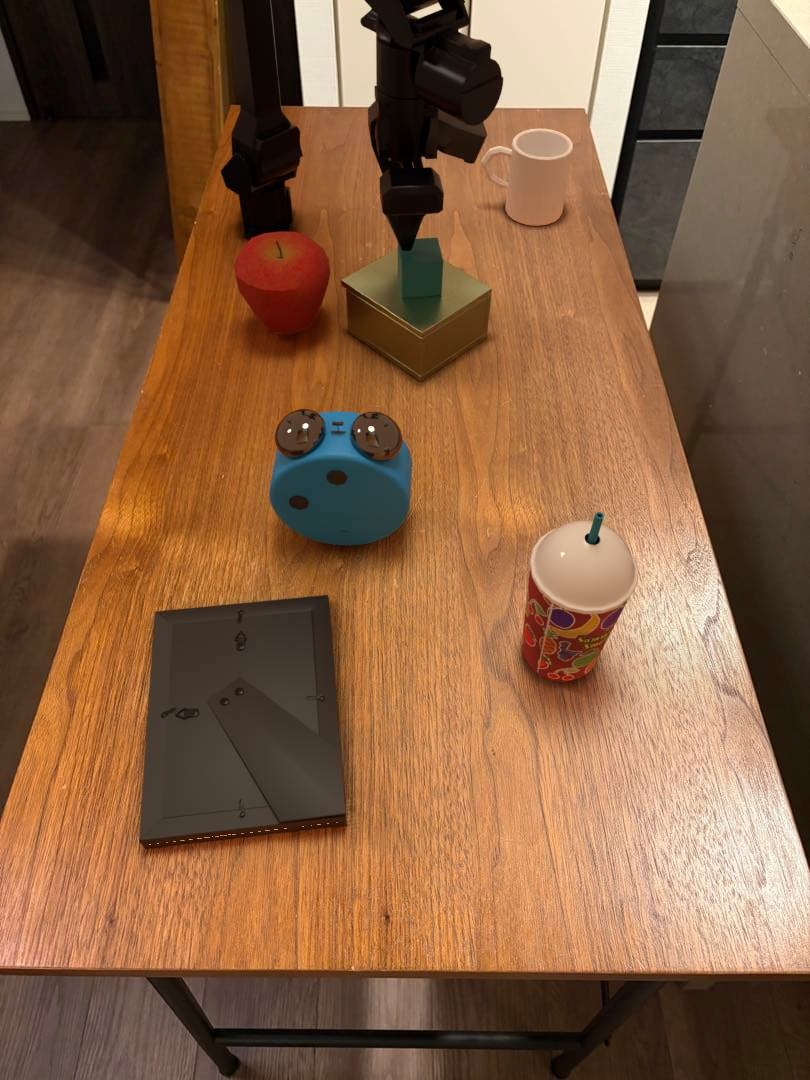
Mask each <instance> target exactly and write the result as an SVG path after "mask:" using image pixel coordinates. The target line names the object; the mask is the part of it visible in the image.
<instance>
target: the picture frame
mask: <svg viewBox="0 0 810 1080" xmlns="http://www.w3.org/2000/svg"><path fill="white" fill-rule="evenodd" d="M153 618H154V620H153V621H154V622H153V632H152V633H153V634H152V647H151V661H150V677H149V689H148V693H149V694H148V705H147V719H146V732H145V733H146V734H145V748H144V763H143V777H142V790H141V791H142V792H141V805H140V806H141V807H140V822H139V836H138V841H139V843H140V844H141V846H142V847H143V849H144V850H151V849H160V848H167V847H177V846H185V845H194V844H201V843H210V842H219V841H227V840H236V839H246V838H254V837H263V836H271V835H277V834H278V835H280V834H286V833H297V832H305V831H312V830H314V831H315V830H322V829H329V828H330V829H331V828H338V827H339V828H340V827H347V826H348V819H347V807H346V805H347V804H346V794H345V781H344V780H345V779H344V770H343V757H342V744H341V732H340V719H339V705H338V694H337V681H336V669H335V656H334V645H333V643H334V642H333V633H332V632H333V630H332V620H331V607H330V597H329V594H323V595H312V596H303V597H292V598H291V597H290V598H281V599H271V600H259V601H250V602H249V601H247V602H239V603H228V604H220V605H208V606H197V607H187V608H176V609H166V610H157V611H154V617H153ZM336 822H338V823H336ZM327 823H329V824H327ZM317 824H321V825H317ZM311 825H312V826H311ZM302 826H304V827H302ZM284 828H287V829H284ZM274 829H278V830H274ZM265 830H270V831H265ZM258 831H261V832H258ZM250 832H253V833H250ZM241 833H244V834H241ZM228 834H231V835H228ZM232 834H236V835H232ZM220 835H227V836H220ZM212 836H213V837H212ZM215 836H219V837H215ZM204 837H210V838H204ZM197 838H202V839H197ZM189 839H193V840H189ZM180 840H185V841H180ZM173 841H176V842H173ZM166 842H168V843H166ZM157 843H159V844H157ZM149 844H151V845H149Z"/></svg>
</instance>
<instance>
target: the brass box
mask: <svg viewBox="0 0 810 1080" xmlns="http://www.w3.org/2000/svg"><path fill="white" fill-rule="evenodd" d="M345 296H346V314H347V332H348V333H349V334H350V335H352V336H353V337H355V338H356V339H357V340H359V341H360V342H362V343H363V344H364V345H366V346H368V347H369V348H370V349H372V350H374V351H375V352H377V353H378V354H379V355H381V356H382V357H384V358H385V359H387V360H388V361H389V362H391V363H393V364H394V365H395V366H397V367H399V368H400V369H402V371H404V372H406V373H407V374H408V375H410V376H412V377H413V378H414V379H416V380H417V381H418V382H423V381H424V380H425V379H427V378H429V377H430V376H432V375H433V374H435V373H436V372H437V371H439V370H441V369H442V368H443V367H445V366H446V365H448V364H450V363H451V362H452V361H454V360H455V359H457V358H459V357H460V356H461V355H463V354H464V353H466V352H467V351H469V350H470V349H471V348H473V347H475V346H477V345H478V344H479V343H481V342H482V341H484V340H485V339H487V338H488V334H489V333H488V331H489V324H490V323H489V321H490V311H491V302H492V293H491V294H490V295H489V296H487V297H485V298H484V299H482V300H481V301H479V302H478V303H476V304H475V305H473V306H471V307H470V308H468V309H467V310H465V311H464V312H462V313H461V314H459V315H457V316H456V317H454V318H453V319H451V320H450V321H448V322H446V323H445V324H443V325H442V326H440V327H439V328H437V329H436V330H434V331H432V332H431V333H429V334H428V335H426V336H425V337H423V338H421V337H419V336H418V335H416V334H415V333H413V332H412V331H410V330H409V329H407V328H406V327H404V326H403V325H401V324H400V323H398V322H396V321H395V320H393V319H392V318H390V317H389V316H387V315H386V314H384V313H383V312H381V311H380V310H378V309H377V308H375V307H373V306H372V305H370V304H369V303H367V302H366V301H364V300H363V299H361V298H360V297H358V296H357V295H355V294H354V293H352V292H350V291H349V290H347V289H346V288H345Z"/></svg>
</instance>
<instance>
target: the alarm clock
mask: <svg viewBox="0 0 810 1080" xmlns="http://www.w3.org/2000/svg"><path fill="white" fill-rule="evenodd" d="M274 444H275V447H276V453H275V458H274V463H273V468H272V473H271V479H270V484H269V490H268V491H269V493H268V494H269V501H270V502H269V503H270V506H271V508H272V510H273V512H274V513H275V515H276V516H277V517H278V520H280V521H281V523H283V525H285V526H286V527H287V528H289V529H290V530H292V531H293V532H295V533H296V534H298V535H300V536H302V537H305V538H307V539H309V540H311V541H316V542H318V543H321V544H327V545H333V546H360V545H366V544H370V543H375V542H378V541H380V540H382V539H385V538H387V537H388V536H390V535H392V534H394V533H395V532H396V531H397V530H398V529H399V528H400V527H402V525H403V524H404V522H405V521H406V519H407V517H408V514H409V512H410V507H411V493H412V491H411V490H412V473H413V460H412V455H411V452H410V449H409V447H408V445H407V443H406V442H405V440H404V439H403V434H402V430H401V428H400V427H399V425H398V424H397V422H396V421H395V420H394V419H393V418H392V417H390V416H389V415H387V414H385V413H382V412H380V411H366V412H363V413H357V412H352V411H339V410H338V411H337V410H336V411H324V412H319V413H318V412H317V411H315V410H313V409H311V408H310V409H309V408H301V409H300V408H299V409H295V410H293V411H291V412H289V413H288V414H287V415H285V416H284V417H283V418H282V419H281V420H280V421H279V423H278V425H277V426H276V429H275V433H274Z"/></svg>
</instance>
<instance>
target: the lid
mask: <svg viewBox="0 0 810 1080" xmlns="http://www.w3.org/2000/svg"><path fill="white" fill-rule="evenodd" d="M340 285H341V286H342V288H344V289H345V290H346V289H347V290H349V291H350V292H352V293H354V294H355V295H357V296H358V297H360V298H361V299H363V300H364V301H366V302H367V303H369V304H370V305H372V306H373V307H375V308H377V309H378V310H380V311H381V312H383V313H384V314H386V315H387V316H389V317H390V318H392V319H393V320H395V321H396V322H398V323H400V324H401V325H403V326H404V327H406V328H407V329H409V330H410V331H412V332H413V333H415V334H416V335H418V336H419V337H421V338H423V337H425V336H426V335H428V334H429V333H431V332H432V331H434V330H436V329H437V328H439V327H440V326H442V325H443V324H445V323H446V322H448V321H450V320H451V319H453V318H454V317H456V316H457V315H459V314H461V313H462V312H464V311H465V310H467V309H468V308H470V307H471V306H473V305H475V304H476V303H478V302H479V301H481V300H482V299H484V298H485V297H487V296H489V295H490V294H491V295H492V293H493V288H492V287H491V286H489V285H487V284H486V283H484V282H482V281H481V280H479V279H477V278H476V277H474V276H472V275H470V274H469V273H467V272H465V271H464V270H462V269H460V268H458V267H457V266H456V265H453V264H452V263H450V262H448V261H447V260H445V259H443V278H442V295H441V296H426V297H411V298H402V295H401V290H400V284H399V279H398V247H397V248H395V249H394V250H392V251H390V252H388V253H386V254H384V255H383V256H381V257H379V258H378V259H376V260H374V261H371V262H370V263H368V264H367V265H365V266H364V267H361V268H360V269H358V270H356V271H354V272H353V273H351V274H349V275H347V276H346V277H344V278H342V279H341V280H340Z"/></svg>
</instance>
